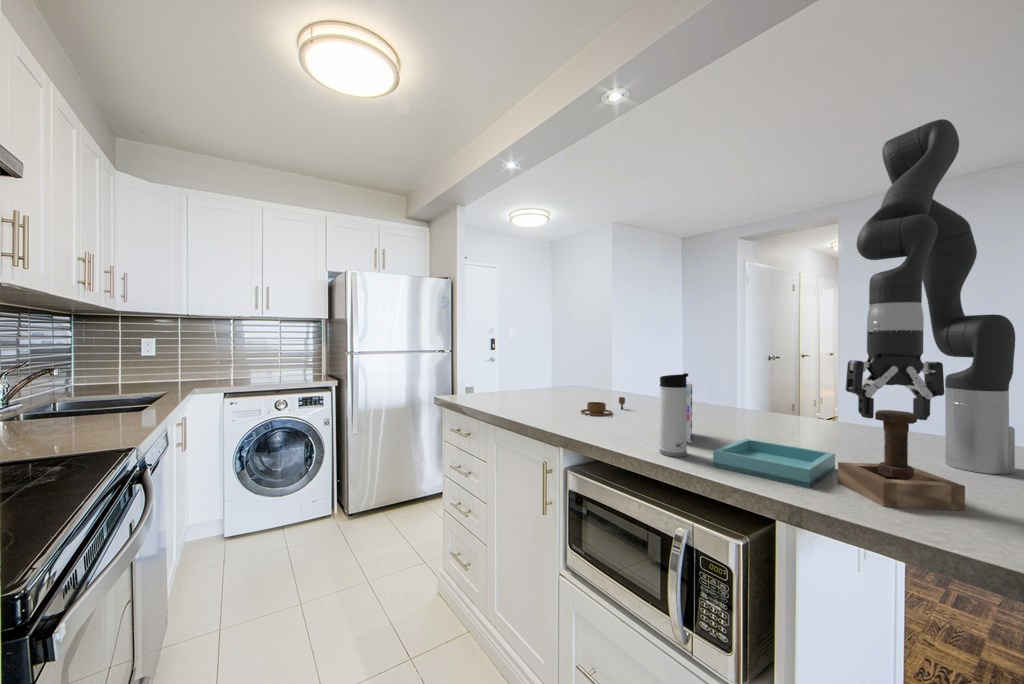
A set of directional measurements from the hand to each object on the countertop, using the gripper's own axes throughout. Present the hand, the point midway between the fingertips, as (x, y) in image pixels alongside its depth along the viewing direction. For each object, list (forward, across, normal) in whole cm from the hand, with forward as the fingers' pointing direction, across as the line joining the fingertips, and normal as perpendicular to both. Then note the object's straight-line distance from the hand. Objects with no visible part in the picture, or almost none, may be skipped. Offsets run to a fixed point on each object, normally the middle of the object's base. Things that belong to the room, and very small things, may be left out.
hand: (893, 418), depth 75 cm
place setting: (+15, +45, -79) cm, 92 cm away
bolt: (+14, 0, 0) cm, 14 cm away
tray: (+14, +14, -14) cm, 24 cm away
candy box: (+14, +28, -41) cm, 52 cm away
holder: (+14, 0, 0) cm, 14 cm away
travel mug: (+14, +32, -23) cm, 42 cm away
